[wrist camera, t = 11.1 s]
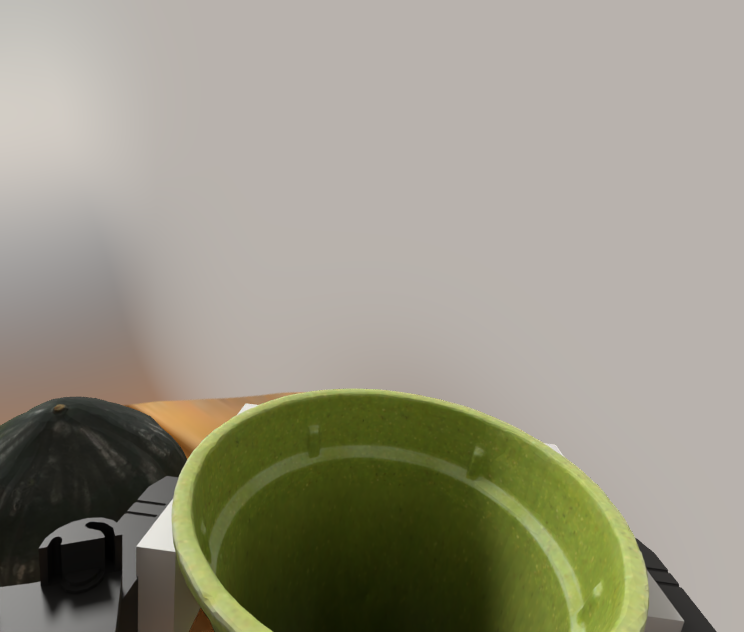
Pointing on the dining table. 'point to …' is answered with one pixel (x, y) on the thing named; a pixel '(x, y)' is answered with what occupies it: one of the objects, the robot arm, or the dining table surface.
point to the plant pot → (398, 524)
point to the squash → (73, 472)
